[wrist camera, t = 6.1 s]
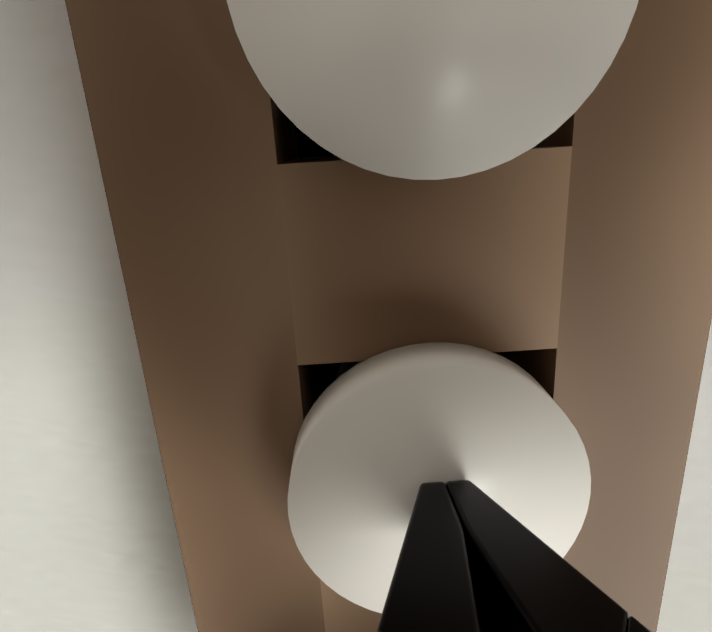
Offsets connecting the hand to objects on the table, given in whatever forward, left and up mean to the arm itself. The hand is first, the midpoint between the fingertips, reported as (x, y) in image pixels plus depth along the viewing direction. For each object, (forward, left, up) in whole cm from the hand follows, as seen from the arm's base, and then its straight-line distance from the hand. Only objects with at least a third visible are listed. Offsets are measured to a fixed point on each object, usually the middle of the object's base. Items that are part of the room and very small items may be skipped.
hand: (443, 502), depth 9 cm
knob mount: (0, 0, -5) cm, 5 cm away
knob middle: (0, 0, -4) cm, 4 cm away
